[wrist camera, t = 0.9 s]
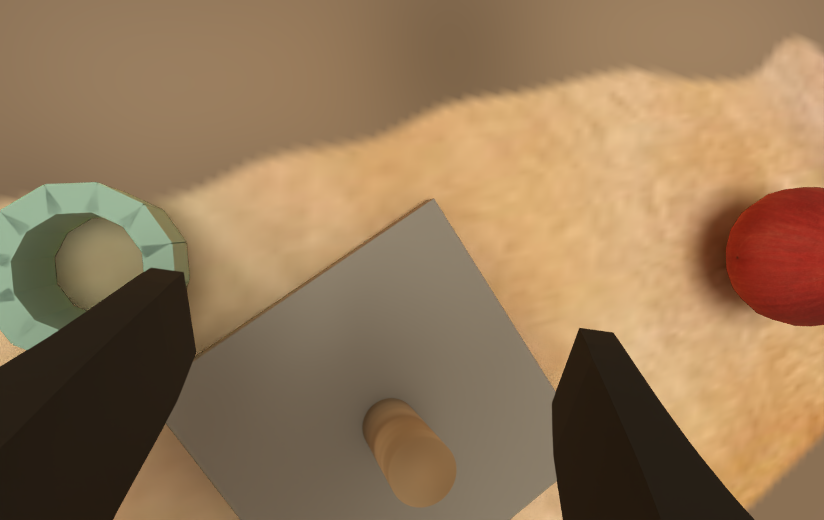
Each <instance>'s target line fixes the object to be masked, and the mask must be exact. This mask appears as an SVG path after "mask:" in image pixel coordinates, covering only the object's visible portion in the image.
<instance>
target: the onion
mask: <svg viewBox="0 0 824 520" xmlns="http://www.w3.org/2000/svg"><path fill="white" fill-rule="evenodd" d="M726 267H727V273H728V275H729V278H730V281H731V284H732V287H733V289H734V290H735V291H736V293H737V294H738V295H739V296H740V298H741V299H742V300H744V301H745V302H746V303H747V304H748V305H749V306H750V307H751V308H752V309H753V310H754V311H755V312H756V313H758V314H760V315H763V316H765V317H768V318H770V319H773V320H776V321H780V322H783V323H787V324H791V325H794V326H818V325H824V188H820V187H802V188H794V189H786V190H781V191H778V192H774V193H771V194H768V195H766V196H765V197H763V198H762V199H760V200H759V201H757V202H756V203H754V204H753V205H751V206H750V207H749V208H748V209H746V210H745V211H744V212H742V213H741V215H740V216H739V218H738V219H737V221H736V222H735V224H734V225H733V227H732V228H731V230H730V234H729V238H728V243H727V247H726Z"/></svg>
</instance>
